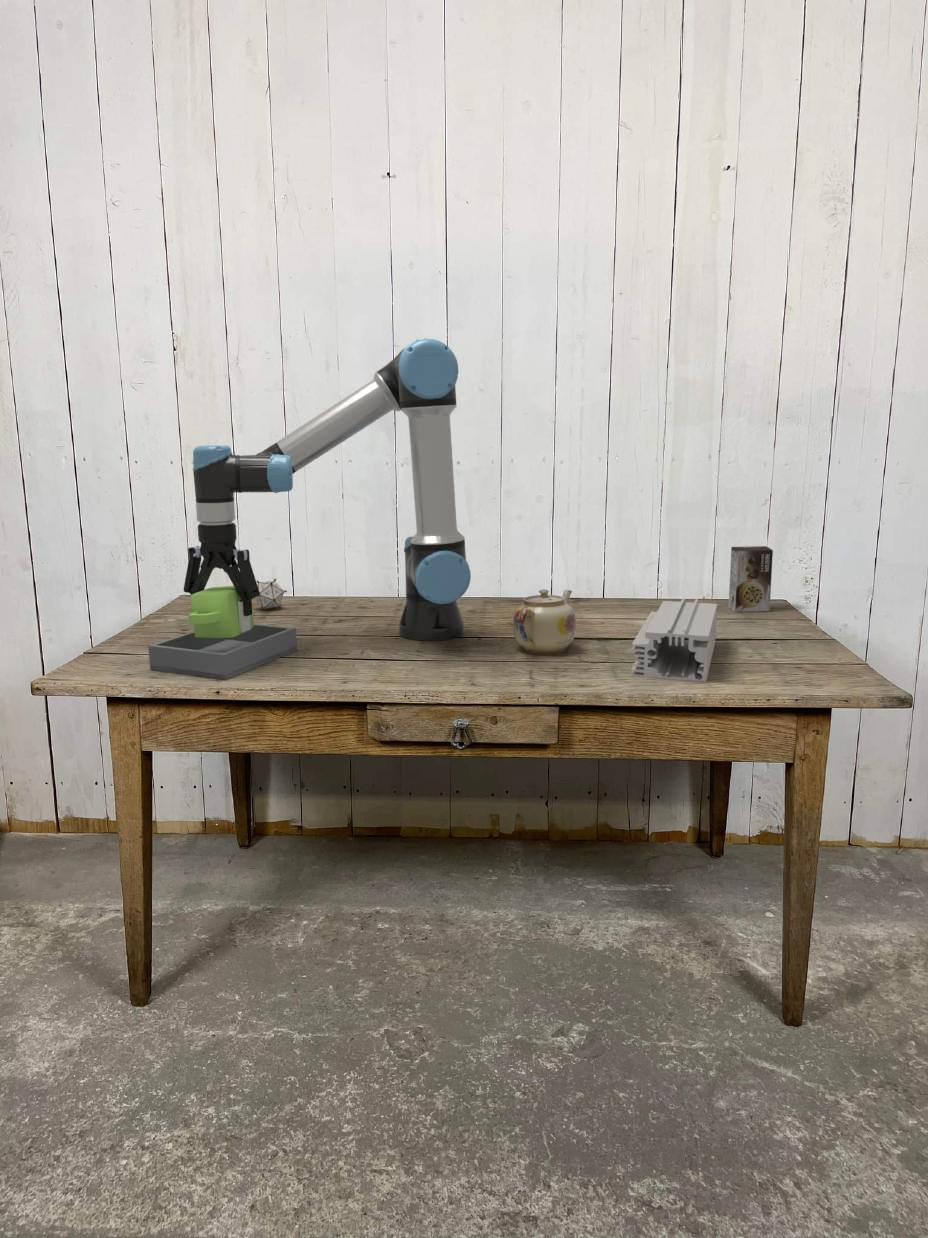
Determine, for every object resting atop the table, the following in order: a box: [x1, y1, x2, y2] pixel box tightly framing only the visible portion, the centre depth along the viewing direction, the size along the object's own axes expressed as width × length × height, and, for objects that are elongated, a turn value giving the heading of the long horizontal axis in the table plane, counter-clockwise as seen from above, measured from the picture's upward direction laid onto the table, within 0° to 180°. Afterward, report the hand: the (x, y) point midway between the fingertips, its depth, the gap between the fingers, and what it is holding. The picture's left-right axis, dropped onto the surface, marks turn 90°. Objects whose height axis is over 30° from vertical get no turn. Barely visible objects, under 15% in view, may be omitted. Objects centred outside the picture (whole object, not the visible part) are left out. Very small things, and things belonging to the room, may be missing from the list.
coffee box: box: [728, 545, 774, 613], centre depth 226 cm, size 9×6×16 cm
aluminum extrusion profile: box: [630, 597, 718, 682], centre depth 182 cm, size 14×31×10 cm, turn 161°
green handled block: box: [188, 585, 255, 638], centre depth 183 cm, size 18×10×10 cm, turn 170°
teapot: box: [512, 589, 577, 656], centre depth 190 cm, size 20×14×13 cm
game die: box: [252, 577, 288, 612], centre depth 233 cm, size 9×8×10 cm
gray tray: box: [147, 623, 298, 681], centre depth 184 cm, size 19×24×5 cm
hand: (223, 628), depth 183 cm, fingers closed on green handled block, 10 cm apart
